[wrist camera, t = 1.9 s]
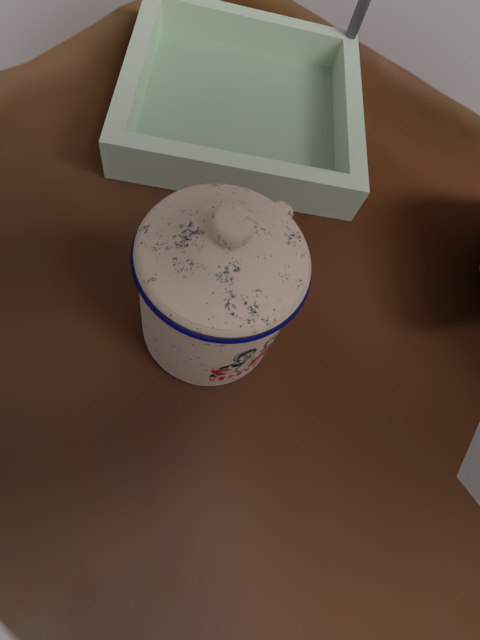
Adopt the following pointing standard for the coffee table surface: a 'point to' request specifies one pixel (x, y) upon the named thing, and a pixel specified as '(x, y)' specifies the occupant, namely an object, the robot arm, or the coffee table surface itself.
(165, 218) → the teacup with lid
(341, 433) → the coffee table surface
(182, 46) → the mint green square tray
